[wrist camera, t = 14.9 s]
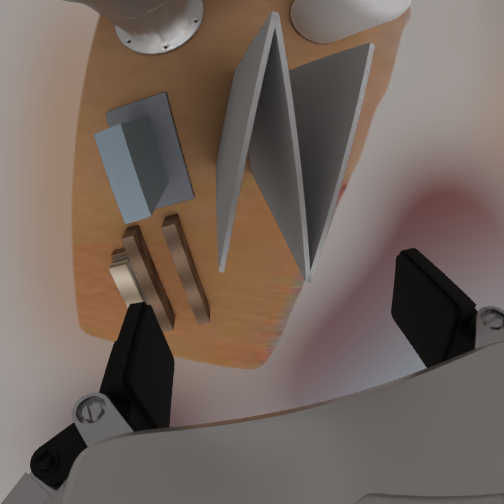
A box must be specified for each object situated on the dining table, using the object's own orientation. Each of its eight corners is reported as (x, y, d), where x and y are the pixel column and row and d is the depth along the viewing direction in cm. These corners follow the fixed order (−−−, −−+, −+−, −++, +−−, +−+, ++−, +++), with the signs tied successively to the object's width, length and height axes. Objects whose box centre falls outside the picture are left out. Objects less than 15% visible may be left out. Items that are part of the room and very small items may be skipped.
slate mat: (107, 112, 39) (105, 113, 38) (166, 92, 39) (165, 92, 38) (138, 212, 46) (137, 214, 45) (194, 196, 46) (194, 198, 45)
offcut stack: (113, 250, 48) (105, 265, 44) (132, 245, 48) (125, 259, 44) (140, 308, 54) (135, 325, 50) (158, 304, 54) (154, 322, 50)
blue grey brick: (129, 123, 39) (93, 134, 27) (149, 116, 39) (120, 123, 27) (149, 188, 44) (125, 224, 31) (169, 182, 44) (151, 216, 31)
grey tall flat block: (253, 172, 45) (311, 283, 19) (215, 166, 44) (218, 273, 18) (273, 78, 39) (375, 44, 13) (234, 70, 38) (272, 11, 12)
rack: (127, 228, 47) (120, 239, 43) (177, 214, 47) (174, 223, 43) (165, 317, 55) (162, 331, 52) (209, 307, 55) (210, 322, 52)
